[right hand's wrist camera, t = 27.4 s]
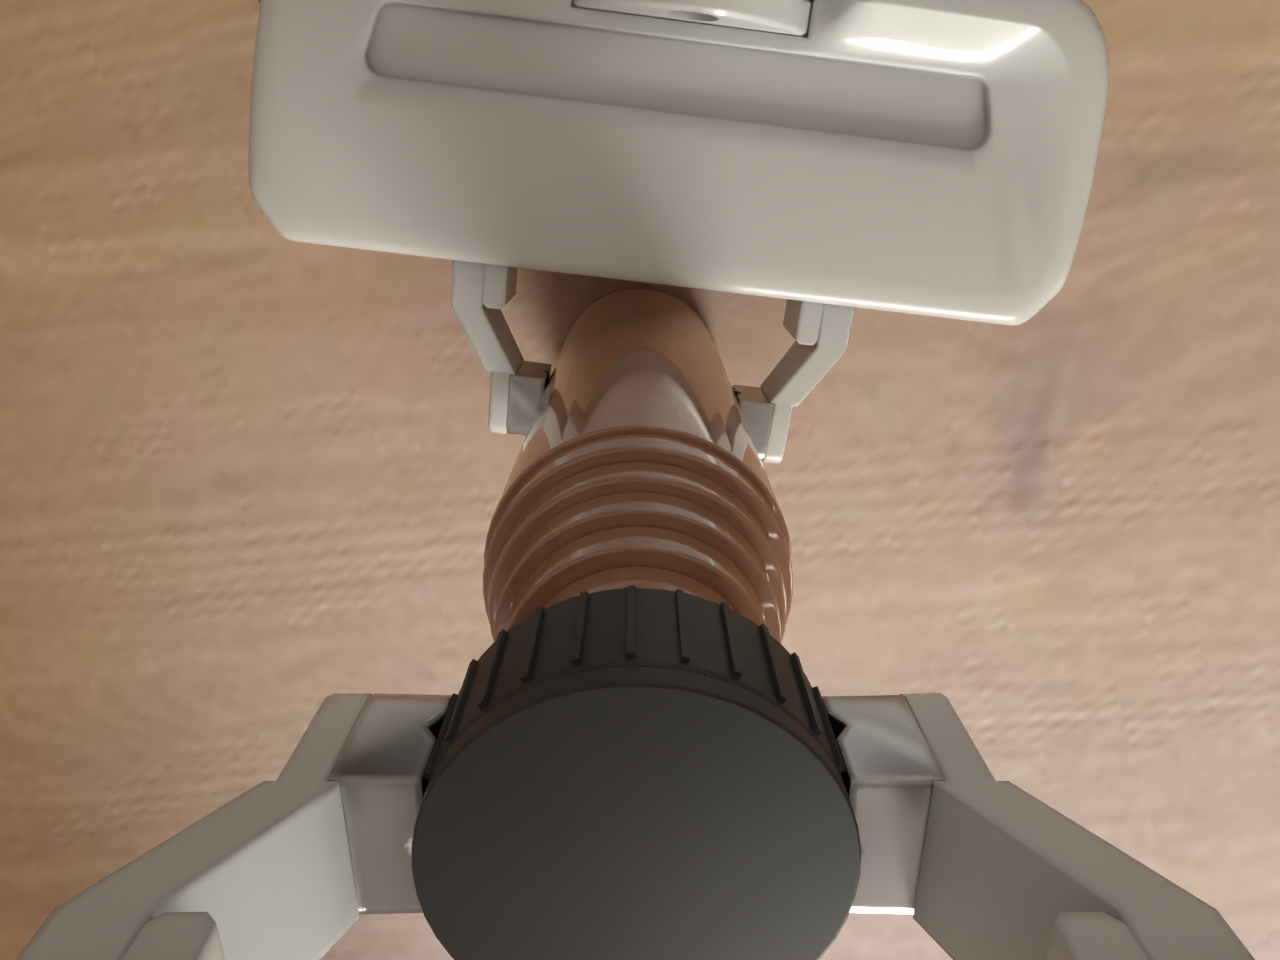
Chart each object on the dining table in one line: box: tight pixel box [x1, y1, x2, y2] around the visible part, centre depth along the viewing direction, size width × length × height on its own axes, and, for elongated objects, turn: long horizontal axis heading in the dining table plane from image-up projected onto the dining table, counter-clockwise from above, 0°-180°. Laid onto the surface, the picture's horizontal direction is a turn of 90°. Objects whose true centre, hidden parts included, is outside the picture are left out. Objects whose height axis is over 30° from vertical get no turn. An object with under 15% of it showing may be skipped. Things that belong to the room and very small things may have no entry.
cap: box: [411, 585, 861, 960], centre depth 9 cm, size 5×5×2 cm
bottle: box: [483, 288, 793, 644], centre depth 19 cm, size 5×5×21 cm
